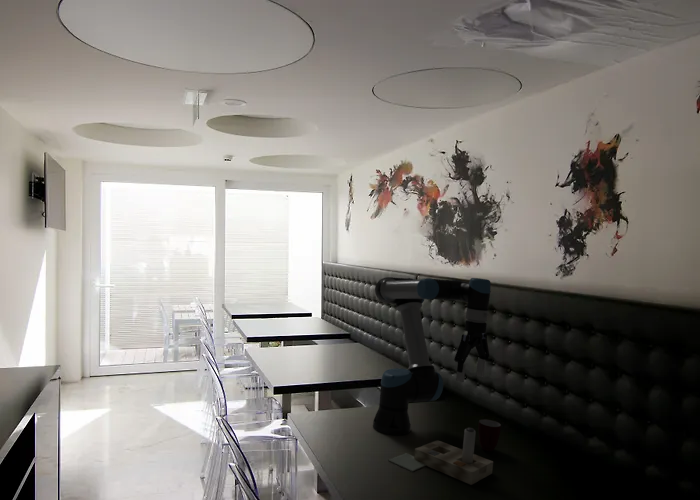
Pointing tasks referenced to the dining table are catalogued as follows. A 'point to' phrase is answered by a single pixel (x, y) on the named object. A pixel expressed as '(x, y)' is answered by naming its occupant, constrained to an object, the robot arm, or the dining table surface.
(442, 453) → the socket block
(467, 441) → the plug
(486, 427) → the mug
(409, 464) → the pad
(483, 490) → the dining table surface
